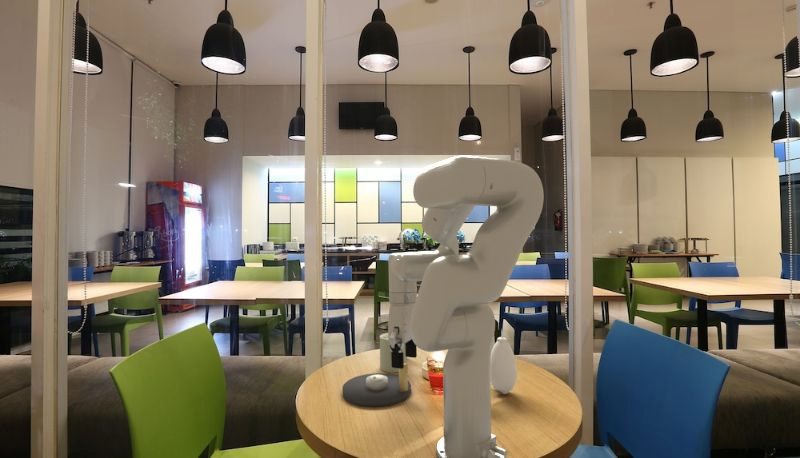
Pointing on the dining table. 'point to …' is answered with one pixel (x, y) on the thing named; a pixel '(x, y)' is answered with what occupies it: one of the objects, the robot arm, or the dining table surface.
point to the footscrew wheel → (378, 389)
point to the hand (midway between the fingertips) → (404, 362)
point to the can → (387, 354)
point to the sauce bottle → (503, 366)
